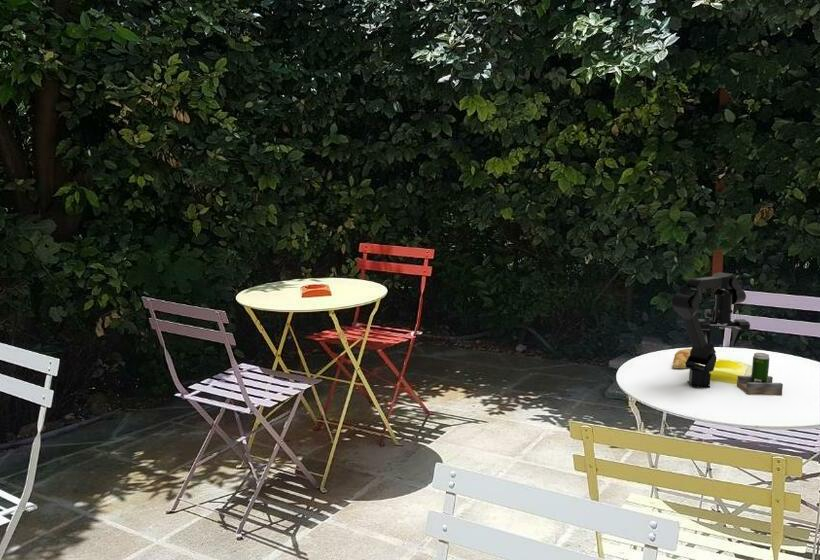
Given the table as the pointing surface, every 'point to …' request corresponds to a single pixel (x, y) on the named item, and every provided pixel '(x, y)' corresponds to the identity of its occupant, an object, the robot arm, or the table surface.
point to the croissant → (681, 358)
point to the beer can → (760, 368)
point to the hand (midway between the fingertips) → (720, 346)
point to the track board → (743, 387)
